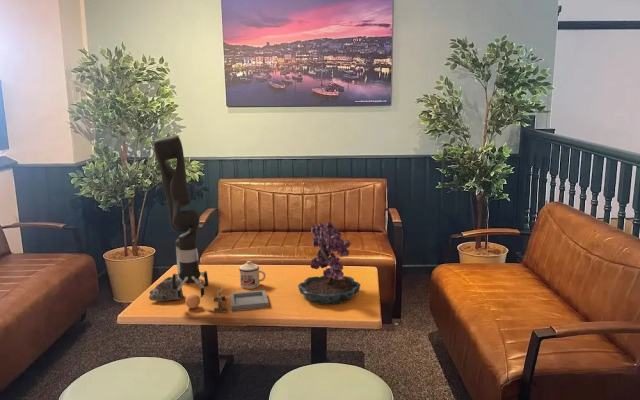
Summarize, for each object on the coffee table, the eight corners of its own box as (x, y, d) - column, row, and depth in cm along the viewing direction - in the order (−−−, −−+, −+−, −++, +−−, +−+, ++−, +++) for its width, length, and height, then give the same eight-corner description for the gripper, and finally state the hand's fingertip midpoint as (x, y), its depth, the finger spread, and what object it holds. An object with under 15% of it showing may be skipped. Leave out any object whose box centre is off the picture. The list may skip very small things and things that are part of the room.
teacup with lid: (237, 288, 246) (235, 264, 244) (243, 282, 255) (242, 258, 253) (263, 289, 244) (261, 265, 242) (268, 283, 253) (267, 258, 250)
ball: (183, 307, 226) (182, 294, 224) (196, 304, 229) (195, 290, 228) (189, 311, 221) (188, 297, 220) (203, 308, 225) (202, 294, 224)
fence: (213, 298, 235) (213, 287, 234) (225, 297, 235) (224, 286, 234) (214, 313, 219) (213, 301, 218) (226, 311, 220) (226, 300, 219)
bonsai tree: (362, 309, 220) (361, 230, 213) (295, 309, 221) (292, 231, 214) (359, 279, 254) (358, 211, 248) (301, 280, 255) (298, 212, 249)
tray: (230, 297, 235) (230, 293, 235) (265, 294, 238) (264, 289, 238) (231, 311, 221) (231, 306, 221) (268, 307, 224) (268, 302, 223)
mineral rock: (148, 303, 231) (146, 281, 229) (158, 294, 242) (156, 272, 240) (177, 304, 230) (175, 281, 228) (186, 295, 240) (184, 273, 238)
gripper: (169, 263, 216) (172, 302, 219) (206, 260, 219) (209, 298, 221) (171, 258, 223) (174, 295, 226) (206, 255, 226) (209, 292, 229)
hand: (191, 297), depth 224 cm, fingers open, 8 cm apart
